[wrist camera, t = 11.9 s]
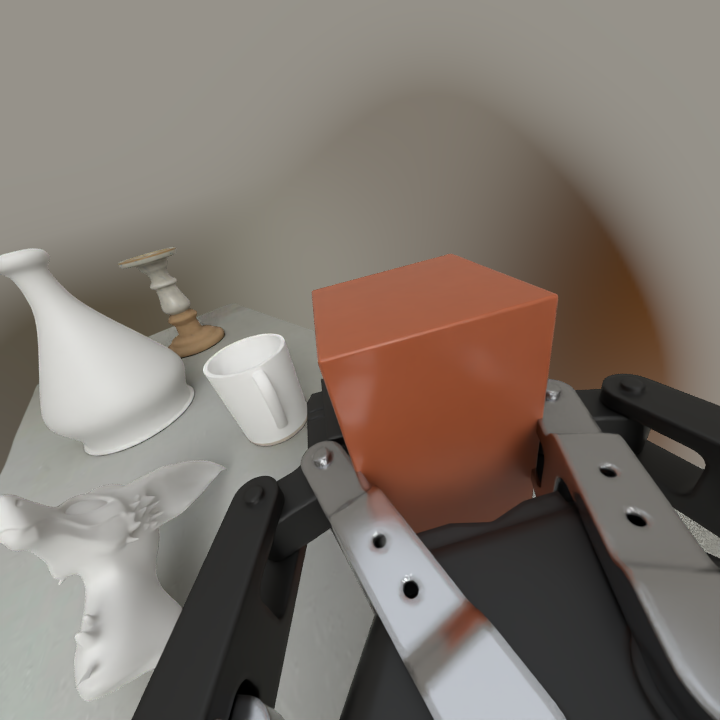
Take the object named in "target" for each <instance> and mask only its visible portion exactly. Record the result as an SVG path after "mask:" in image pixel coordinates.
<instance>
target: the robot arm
mask: <svg viewBox="0 0 720 720" xmlns="http://www.w3.org/2000/svg"><path fill="white" fill-rule="evenodd" d="M321 384H322V391H321V392H318V393H314V394H312V395H311V397H310V399H309V400H308V402H307V420H308V421H307V430H308V450H307V451H306V452H305V454H304V455H303V457H302V460H301V465H300V466H299V467H298V468H297V469H296V470H295V471H293V472H292V473H290V474H289V475H287V476H285V477H284V478H282V479H280V480H278V481H277V482H276V480H275V479H274V478H272V477H270V476H260V477H257V478H254V479H252V480H250V481H248V482H247V483H245V484H244V485H243V486H242V487H241V488H240V489H239V490H238V491H237V493H236V494H235V496H234V498H233V500H232V502H231V504H230V506H229V508H228V511H227V513H226V515H225V517H224V519H223V521H222V524H221V526H220V528H219V530H218V532H217V535H216V537H215V539H214V541H213V543H212V545H211V548H210V550H209V552H208V554H207V556H206V559H205V561H204V563H203V565H202V567H201V569H200V572H199V574H198V576H197V578H196V580H195V583H194V585H193V587H192V589H191V591H190V593H189V596H188V598H187V600H186V602H185V604H184V607H183V609H182V611H181V613H180V615H179V617H178V620H177V622H176V624H175V626H174V628H173V631H172V633H171V635H170V637H169V639H168V641H167V644H166V646H165V648H164V650H163V652H162V654H161V657H160V659H159V661H158V663H157V665H156V668H155V670H154V672H153V674H152V676H151V678H150V681H149V683H148V685H147V687H146V689H145V692H144V694H143V696H142V698H141V700H140V702H139V705H138V707H137V709H136V711H135V713H134V716H133V718H132V720H284V718H283V717H282V716H281V715H280V714H279V713H278V712H277V711H276V710H274V707H275V702H276V697H277V692H278V687H279V682H280V677H281V672H282V667H283V662H284V657H285V652H286V647H287V642H288V637H289V632H290V627H291V622H292V617H293V612H294V607H295V602H296V597H297V592H298V587H299V582H300V577H301V572H302V567H303V562H304V557H305V552H306V547H307V544H308V543H309V542H311V541H312V540H314V539H315V538H317V537H318V536H319V535H321V534H322V533H324V532H325V531H327V530H328V529H330V528H331V530H332V532H333V534H334V536H335V538H336V540H337V542H338V544H339V546H340V548H341V550H342V552H343V554H344V556H345V558H346V560H347V561H348V563H349V565H350V567H351V569H352V571H353V573H354V575H355V577H356V579H357V581H358V583H359V585H360V587H361V589H362V591H363V593H364V595H365V597H366V599H367V601H368V603H369V605H370V607H371V609H372V611H373V613H374V615H375V616H374V619H373V622H372V625H371V628H370V631H369V634H368V637H367V640H366V642H365V645H364V648H363V651H362V654H361V657H360V660H359V663H358V666H357V669H356V672H355V675H354V678H353V681H352V684H351V687H350V690H349V693H348V696H347V699H346V702H345V705H344V708H343V711H342V713H341V716H340V719H339V720H720V558H718V557H715V556H713V555H711V554H709V553H706V552H705V551H704V550H703V548H702V547H701V546H700V544H699V543H698V542H697V540H696V539H695V537H694V536H693V535H692V533H691V532H690V530H689V529H688V528H687V526H686V525H685V524H684V522H683V521H682V519H681V518H680V517H679V515H678V514H677V512H676V511H675V510H674V508H675V509H676V510H678V511H680V512H681V513H683V514H684V515H686V516H687V517H689V518H690V519H692V520H693V521H695V522H697V523H698V524H700V525H701V526H703V527H704V528H706V529H707V530H709V531H710V532H712V533H714V534H715V535H717V536H718V537H720V406H718V405H715V404H713V403H711V402H708V401H705V400H703V399H700V398H698V397H695V396H692V395H690V394H687V393H684V392H682V391H679V390H676V389H674V388H671V387H669V386H666V385H663V384H661V383H658V382H655V381H653V380H650V379H648V378H645V377H642V376H638V375H632V374H615V375H611V376H608V377H607V378H605V380H603V384H602V388H601V389H591V390H574V389H573V388H572V387H571V386H569V385H568V384H566V383H564V382H561V381H558V380H553V379H548V381H547V389H546V396H545V404H544V412H543V417H542V418H540V419H538V420H537V429H536V433H537V435H538V438H539V440H540V442H539V450H538V458H537V466H536V468H534V469H532V471H531V482H532V485H533V488H534V491H535V494H536V497H535V498H532V499H528V500H525V501H522V502H521V503H519V504H518V505H516V506H515V507H513V508H512V509H510V510H509V511H508V512H506V513H505V514H503V515H502V516H500V517H499V518H497V519H496V520H494V521H491V522H476V523H449V524H446V525H443V526H439V527H436V528H433V529H429V530H426V531H423V532H420V533H415V532H414V531H413V530H412V528H411V527H410V526H409V525H408V523H407V522H406V521H405V519H404V518H403V517H402V516H401V514H400V513H399V512H398V511H397V509H396V508H395V507H394V505H393V504H392V503H391V502H390V500H389V499H388V498H387V497H386V495H385V494H384V493H383V491H382V490H381V489H380V488H379V487H378V486H376V485H374V486H372V485H371V484H370V483H369V482H368V480H367V479H366V478H365V477H364V475H363V474H362V473H361V471H359V472H356V471H355V470H354V467H353V464H352V461H351V458H350V455H349V452H348V449H347V446H346V444H345V441H344V438H343V435H342V432H341V429H340V426H339V423H338V420H337V417H336V414H335V411H334V408H333V406H332V403H331V400H330V397H329V394H328V391H327V388H326V385H325V382H324V379H321ZM651 429H652V430H654V431H657V432H658V433H660V434H662V435H664V436H667V437H669V438H671V439H673V440H675V441H677V442H679V443H681V444H683V445H685V446H687V447H689V448H691V449H692V450H694V451H696V452H697V453H698V454H699V455H701V456H702V458H703V459H704V461H705V464H706V466H705V469H704V470H703V469H701V468H699V467H697V466H695V465H693V464H691V463H690V462H688V461H686V460H684V459H682V458H680V457H678V456H676V455H674V454H672V453H670V452H668V451H667V450H665V449H663V448H661V447H659V446H657V445H655V444H654V443H651V442H650V441H648V440H647V438H648V435H649V432H650V430H651Z"/></svg>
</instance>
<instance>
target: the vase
mask: <svg viewBox="0 0 720 720" xmlns="http://www.w3.org/2000/svg"><path fill="white" fill-rule="evenodd" d="M49 261H50V256H49V254H48V253H47V252H46V251H44V250H42V249H25V250H20V251H15V252H11V253H7V254H3V255H0V275H4V276H7V277H9V278H10V279H12V280H13V281H14V282H15V283H16V284H17V286H18V287H19V288H20V290H21V291H22V292H23V294H24V296H25V297H26V299H27V301H28V302H29V304H30V306H31V308H32V311H33V314H34V317H35V321H36V327H37V335H38V350H39V386H40V406H41V413H42V417H43V420H44V423H45V424H46V426H47V427H48V428H49V429H50V430H51V431H53V432H54V433H56V434H58V435H61V436H63V437H67V438H70V439H74V440H78V441H81V442H83V443H84V450H85V452H86V453H88V454H90V455H106V454H111V453H115V452H118V451H121V450H124V449H127V448H129V447H132V446H134V445H136V444H138V443H140V442H142V441H144V440H146V439H148V438H150V437H152V436H153V435H155V434H157V433H158V432H160V431H161V430H163V429H164V428H165V427H167V426H168V425H170V424H171V423H172V422H173V421H174V420H176V419H177V418H178V417H179V416H180V415H181V414H182V413H183V412H184V411H185V410H186V409H187V407H188V406H189V405H190V403H191V402H192V400H193V397H194V389H193V388H192V387H191V386H189V385H186V381H185V366H184V363H183V361H182V359H181V358H180V356H179V355H178V354H176V353H175V352H174V351H172V350H171V349H169V348H167V347H166V346H164V345H162V344H160V343H158V342H156V341H154V340H152V339H150V338H148V337H146V336H144V335H142V334H140V333H138V332H136V331H134V330H132V329H130V328H128V327H126V326H124V325H122V324H120V323H118V322H116V321H114V320H112V319H110V318H108V317H107V316H104V315H103V314H101V313H99V312H97V311H95V310H94V309H92V308H90V307H88V306H87V305H85V304H84V303H82V302H81V301H79V300H78V299H76V298H75V297H74V296H73V295H71V294H70V293H69V292H68V291H67V290H66V289H65V288H64V287H63V286H62V285H61V284H60V283H59V282H58V281H57V280H56V279H55V278H54V276H53V275H52V274H51V272H50V271H49V269H48V263H49Z"/></svg>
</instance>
